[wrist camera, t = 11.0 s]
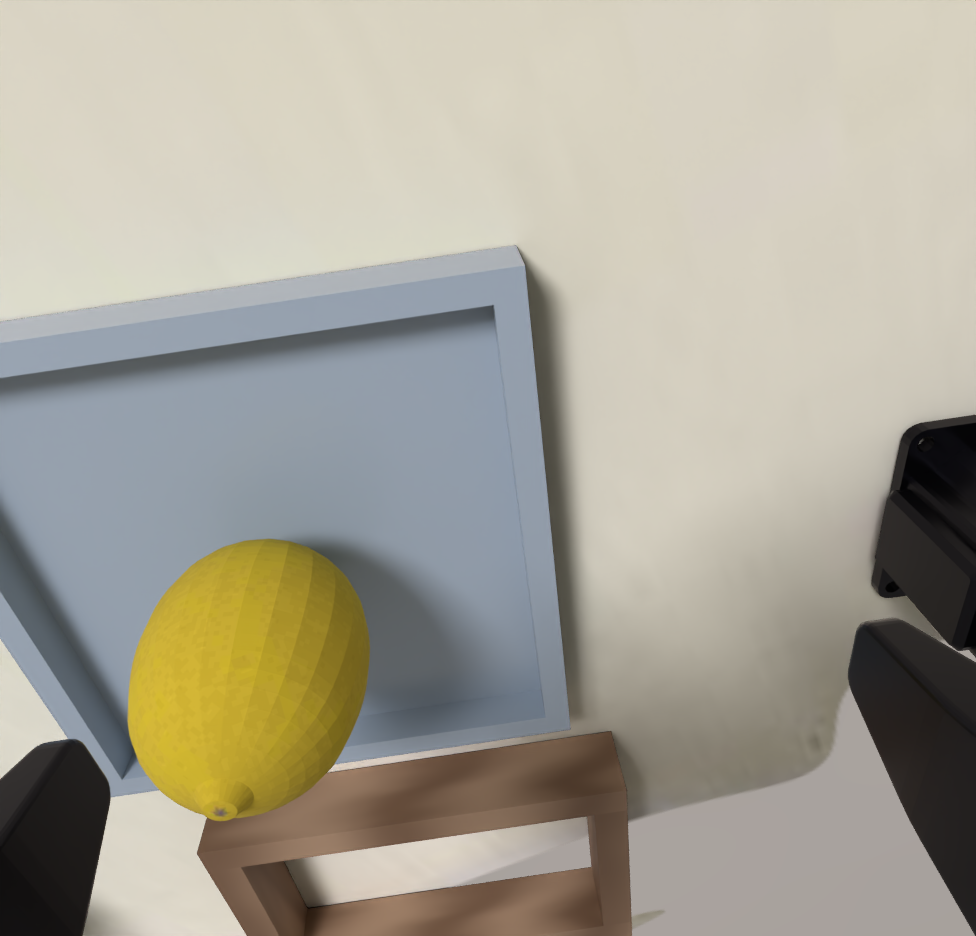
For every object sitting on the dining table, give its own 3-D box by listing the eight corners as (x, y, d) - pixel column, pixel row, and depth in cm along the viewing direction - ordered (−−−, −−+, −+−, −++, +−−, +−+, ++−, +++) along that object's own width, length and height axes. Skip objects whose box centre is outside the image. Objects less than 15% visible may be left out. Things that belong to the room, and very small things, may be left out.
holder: (610, 731, 27) (626, 790, 25) (618, 877, 33) (632, 935, 31) (214, 789, 27) (196, 853, 25) (288, 925, 33) (278, 988, 31)
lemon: (408, 590, 22) (404, 840, 15) (254, 650, 23) (185, 913, 16) (317, 453, 19) (262, 686, 12) (144, 527, 20) (4, 784, 13)
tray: (516, 245, 17) (525, 265, 16) (561, 688, 26) (570, 729, 24) (-128, 340, 17) (-183, 369, 16) (127, 752, 26) (108, 797, 24)
